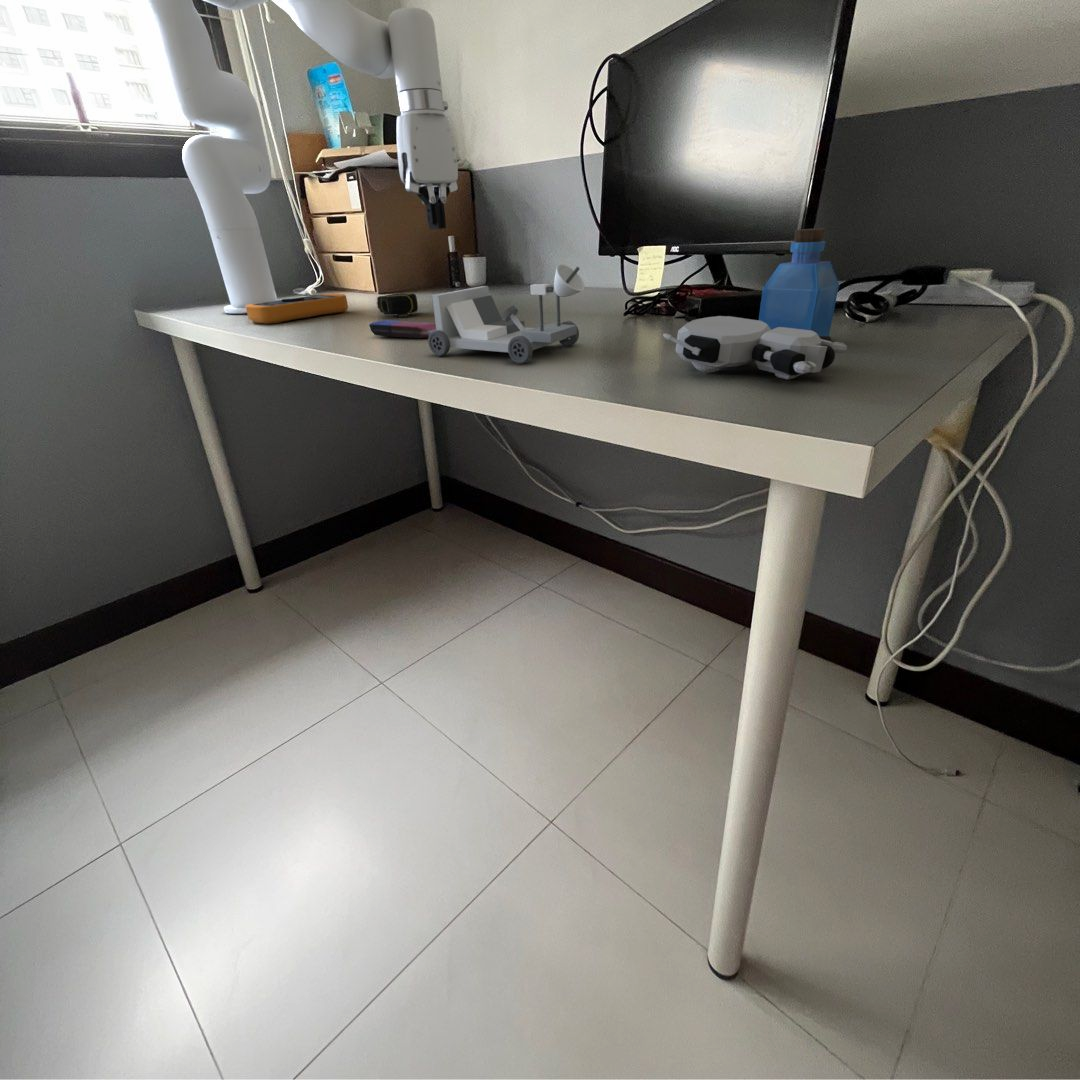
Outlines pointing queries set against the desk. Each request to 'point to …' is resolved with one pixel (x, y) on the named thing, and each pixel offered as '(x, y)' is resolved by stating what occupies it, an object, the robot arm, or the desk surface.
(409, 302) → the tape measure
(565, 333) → the toy car
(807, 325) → the perfume bottle
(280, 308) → the multimeter
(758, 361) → the robot toy
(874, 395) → the desk surface
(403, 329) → the eraser
